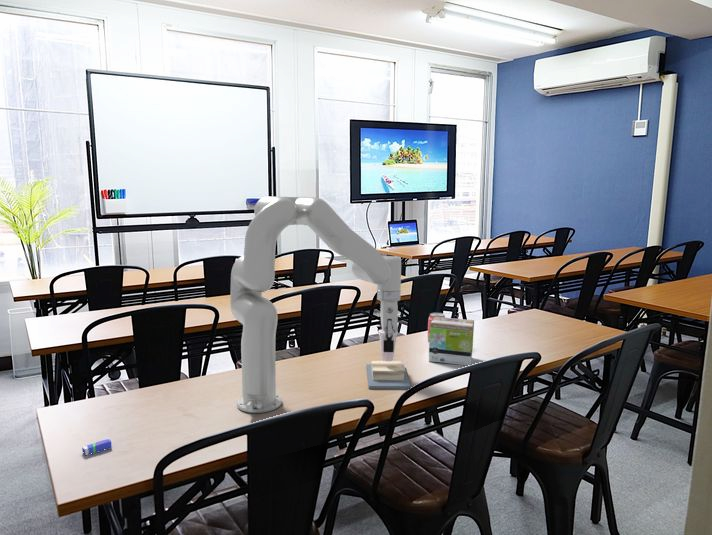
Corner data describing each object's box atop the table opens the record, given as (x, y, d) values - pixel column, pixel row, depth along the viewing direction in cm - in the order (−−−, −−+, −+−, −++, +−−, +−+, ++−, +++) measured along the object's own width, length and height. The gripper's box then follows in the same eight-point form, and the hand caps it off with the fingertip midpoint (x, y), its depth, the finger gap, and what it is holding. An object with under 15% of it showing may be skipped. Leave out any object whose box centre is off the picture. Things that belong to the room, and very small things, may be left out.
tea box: (428, 362, 194) (429, 322, 191) (431, 354, 203) (433, 315, 201) (470, 366, 190) (472, 325, 187) (472, 357, 199) (474, 318, 197)
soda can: (447, 342, 217) (449, 313, 215) (440, 347, 211) (442, 317, 209) (431, 339, 221) (432, 311, 219) (424, 344, 215) (425, 314, 213)
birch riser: (403, 380, 173) (404, 371, 173) (372, 380, 173) (372, 371, 172) (400, 369, 183) (401, 360, 182) (371, 369, 183) (371, 360, 182)
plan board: (410, 389, 168) (410, 386, 168) (368, 388, 168) (368, 385, 168) (403, 367, 188) (403, 364, 188) (366, 367, 188) (366, 364, 188)
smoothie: (401, 359, 177) (402, 318, 175) (388, 364, 173) (389, 321, 170) (386, 355, 182) (387, 314, 179) (373, 359, 177) (374, 318, 175)
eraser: (82, 454, 127) (82, 446, 127) (109, 446, 131) (108, 438, 131) (85, 457, 126) (84, 449, 125) (111, 449, 130) (111, 441, 129)
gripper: (403, 300, 165) (401, 357, 168) (397, 289, 182) (396, 340, 185) (378, 300, 165) (377, 357, 168) (375, 289, 182) (374, 340, 185)
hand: (387, 348), depth 176 cm, fingers closed on smoothie, 6 cm apart
